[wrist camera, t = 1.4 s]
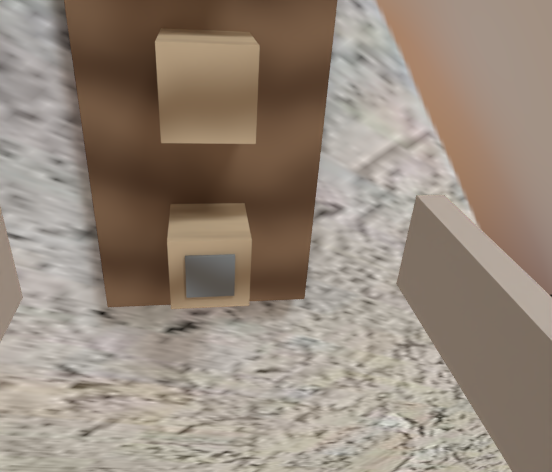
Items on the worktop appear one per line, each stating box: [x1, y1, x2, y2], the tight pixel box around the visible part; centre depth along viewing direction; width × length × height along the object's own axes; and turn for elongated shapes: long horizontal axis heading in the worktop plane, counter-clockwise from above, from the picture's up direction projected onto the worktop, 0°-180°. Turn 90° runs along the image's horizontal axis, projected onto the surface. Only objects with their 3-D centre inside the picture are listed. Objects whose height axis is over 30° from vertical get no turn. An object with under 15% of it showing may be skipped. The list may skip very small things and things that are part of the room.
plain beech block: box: [155, 28, 260, 144], centre depth 27 cm, size 5×5×5 cm
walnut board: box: [64, 0, 337, 307], centre depth 30 cm, size 34×15×2 cm, turn 177°
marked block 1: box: [167, 203, 252, 309], centre depth 32 cm, size 5×5×5 cm
